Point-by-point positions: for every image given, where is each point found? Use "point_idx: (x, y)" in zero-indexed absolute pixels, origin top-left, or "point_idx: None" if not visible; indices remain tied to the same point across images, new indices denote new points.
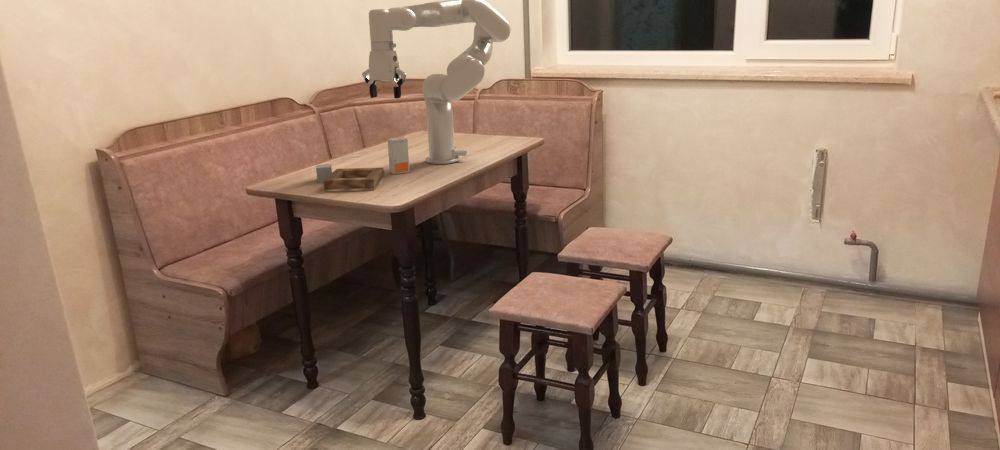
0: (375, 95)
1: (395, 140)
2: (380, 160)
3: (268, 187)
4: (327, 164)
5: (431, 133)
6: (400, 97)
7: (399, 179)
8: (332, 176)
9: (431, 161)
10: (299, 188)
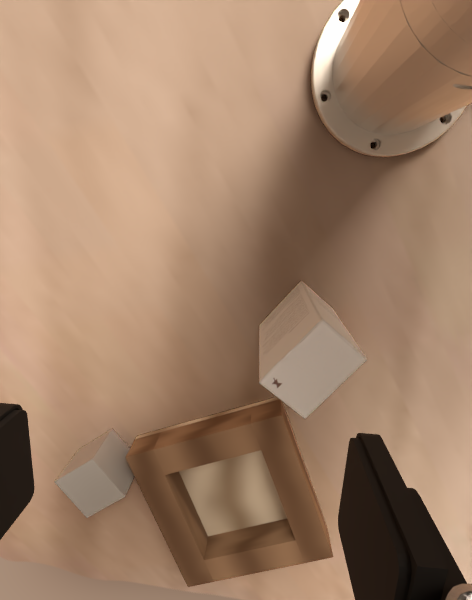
0: (18, 448)
1: (319, 405)
2: (101, 131)
3: (13, 544)
4: (84, 466)
5: (419, 102)
6: (376, 438)
7: (343, 406)
8: (181, 544)
9: (369, 154)
10: (103, 541)
